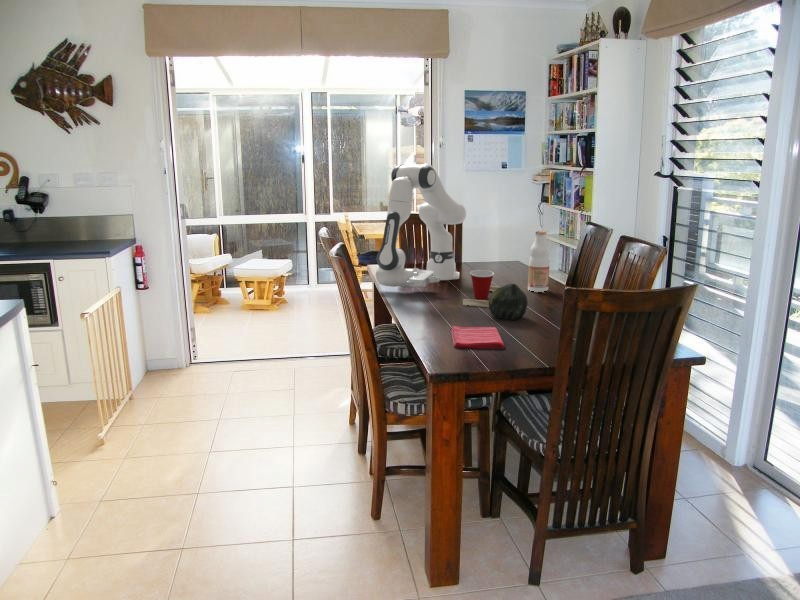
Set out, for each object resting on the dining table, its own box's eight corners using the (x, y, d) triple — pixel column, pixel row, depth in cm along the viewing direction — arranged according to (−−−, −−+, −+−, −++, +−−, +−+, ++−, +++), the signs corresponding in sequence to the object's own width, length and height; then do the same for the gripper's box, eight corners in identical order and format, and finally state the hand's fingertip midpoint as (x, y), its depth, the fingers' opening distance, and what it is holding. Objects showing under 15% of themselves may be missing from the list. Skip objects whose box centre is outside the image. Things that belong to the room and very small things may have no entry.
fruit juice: (523, 290, 304) (526, 231, 297) (537, 287, 309) (540, 229, 302) (537, 293, 296) (541, 233, 290) (552, 291, 301) (555, 231, 295)
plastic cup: (469, 301, 281) (470, 274, 278) (468, 295, 292) (469, 269, 289) (494, 301, 281) (495, 274, 278) (492, 296, 291) (493, 270, 288)
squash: (486, 298, 262) (491, 276, 249) (523, 300, 261) (530, 278, 249) (487, 327, 253) (492, 306, 241) (525, 329, 253) (532, 308, 241)
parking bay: (476, 290, 303) (476, 285, 302) (516, 293, 297) (516, 287, 297) (462, 305, 274) (462, 299, 273) (506, 308, 268) (506, 302, 268)
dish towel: (454, 350, 214) (454, 342, 213) (450, 331, 237) (450, 324, 236) (505, 350, 213) (505, 343, 213) (496, 331, 236) (497, 324, 236)
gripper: (403, 275, 285) (433, 277, 281) (416, 267, 304) (444, 268, 300) (403, 289, 286) (433, 291, 282) (416, 280, 305) (444, 282, 301)
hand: (439, 279), depth 291 cm, fingers closed
